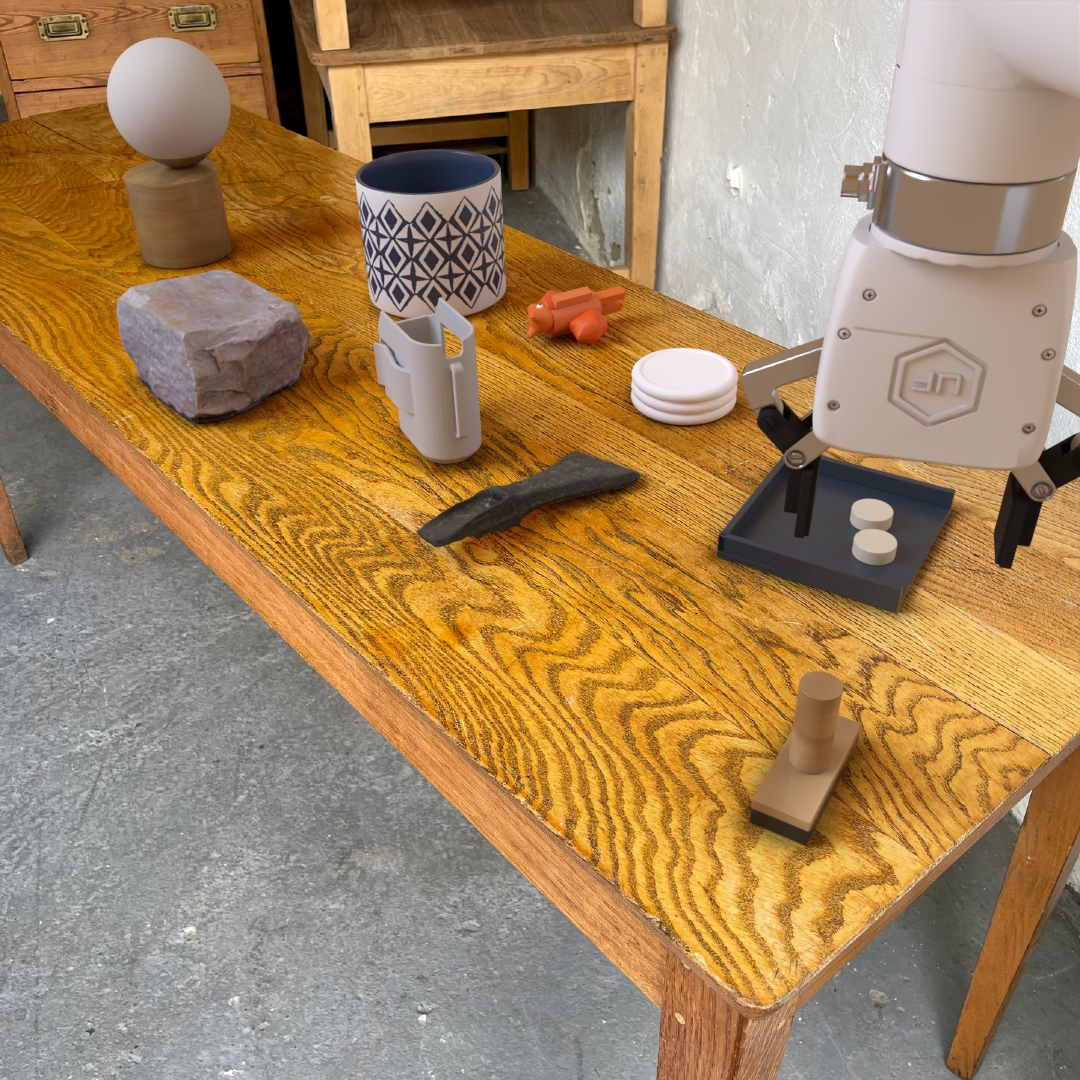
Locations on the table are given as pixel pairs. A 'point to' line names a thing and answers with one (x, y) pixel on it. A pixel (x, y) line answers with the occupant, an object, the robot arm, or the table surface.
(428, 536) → the tool
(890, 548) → the disc
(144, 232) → the lamp
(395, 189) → the planter
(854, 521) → the disc
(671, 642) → the table surface
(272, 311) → the stone block
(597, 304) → the orange toy bird
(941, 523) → the tray
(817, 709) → the brush
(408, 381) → the cable organizer
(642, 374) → the coaster
